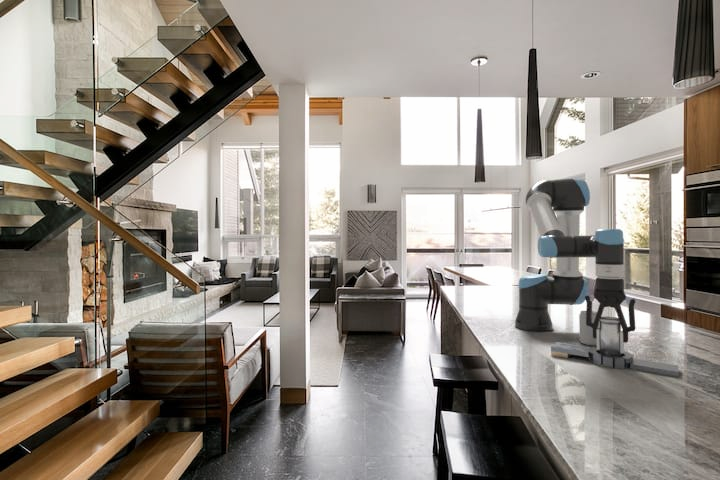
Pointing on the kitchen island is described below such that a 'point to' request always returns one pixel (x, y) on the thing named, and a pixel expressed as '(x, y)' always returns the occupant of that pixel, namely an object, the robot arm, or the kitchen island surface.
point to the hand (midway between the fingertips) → (610, 350)
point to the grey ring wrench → (613, 359)
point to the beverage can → (586, 329)
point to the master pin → (610, 336)
